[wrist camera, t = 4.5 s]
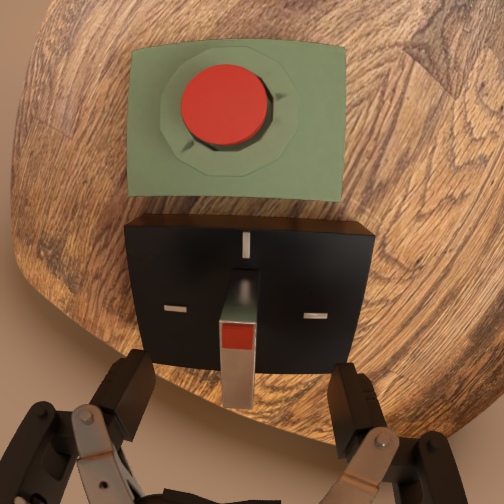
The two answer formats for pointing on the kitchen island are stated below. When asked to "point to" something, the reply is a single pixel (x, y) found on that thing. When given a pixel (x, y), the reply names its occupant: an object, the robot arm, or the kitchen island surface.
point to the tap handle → (239, 339)
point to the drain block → (256, 148)
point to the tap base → (270, 287)
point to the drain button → (224, 105)
